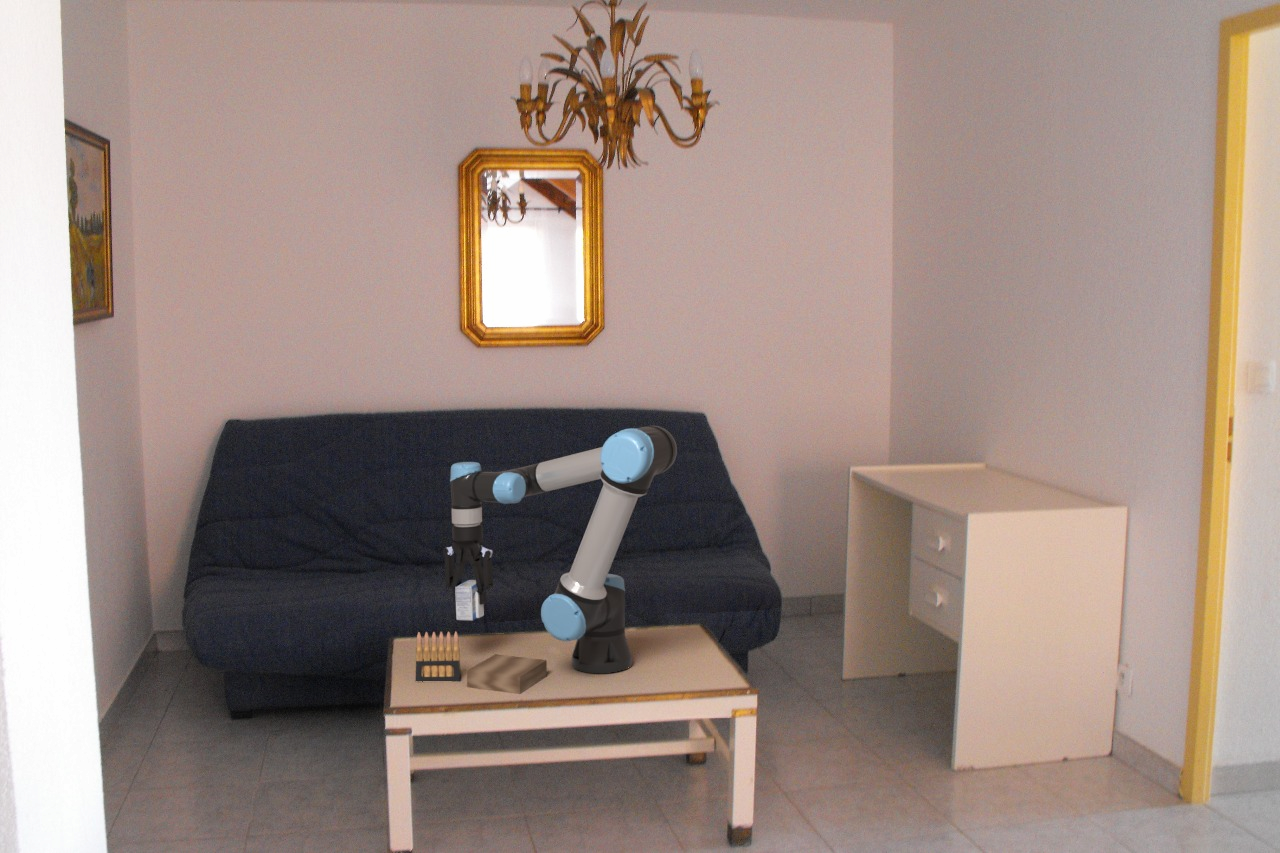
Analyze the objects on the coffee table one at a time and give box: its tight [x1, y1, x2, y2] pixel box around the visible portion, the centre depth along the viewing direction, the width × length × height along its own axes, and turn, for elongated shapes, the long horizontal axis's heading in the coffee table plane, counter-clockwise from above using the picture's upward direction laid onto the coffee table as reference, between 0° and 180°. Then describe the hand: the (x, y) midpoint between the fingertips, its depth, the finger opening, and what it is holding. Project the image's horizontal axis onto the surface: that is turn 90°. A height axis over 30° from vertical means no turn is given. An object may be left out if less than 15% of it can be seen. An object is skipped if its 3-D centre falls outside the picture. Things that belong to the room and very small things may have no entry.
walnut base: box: [466, 654, 548, 695], centre depth 268 cm, size 14×14×4 cm
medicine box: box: [455, 579, 478, 622], centre depth 282 cm, size 8×4×9 cm, turn 167°
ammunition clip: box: [415, 630, 462, 683], centre depth 269 cm, size 11×2×12 cm, turn 92°
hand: (470, 615), depth 282 cm, fingers closed on medicine box, 5 cm apart
